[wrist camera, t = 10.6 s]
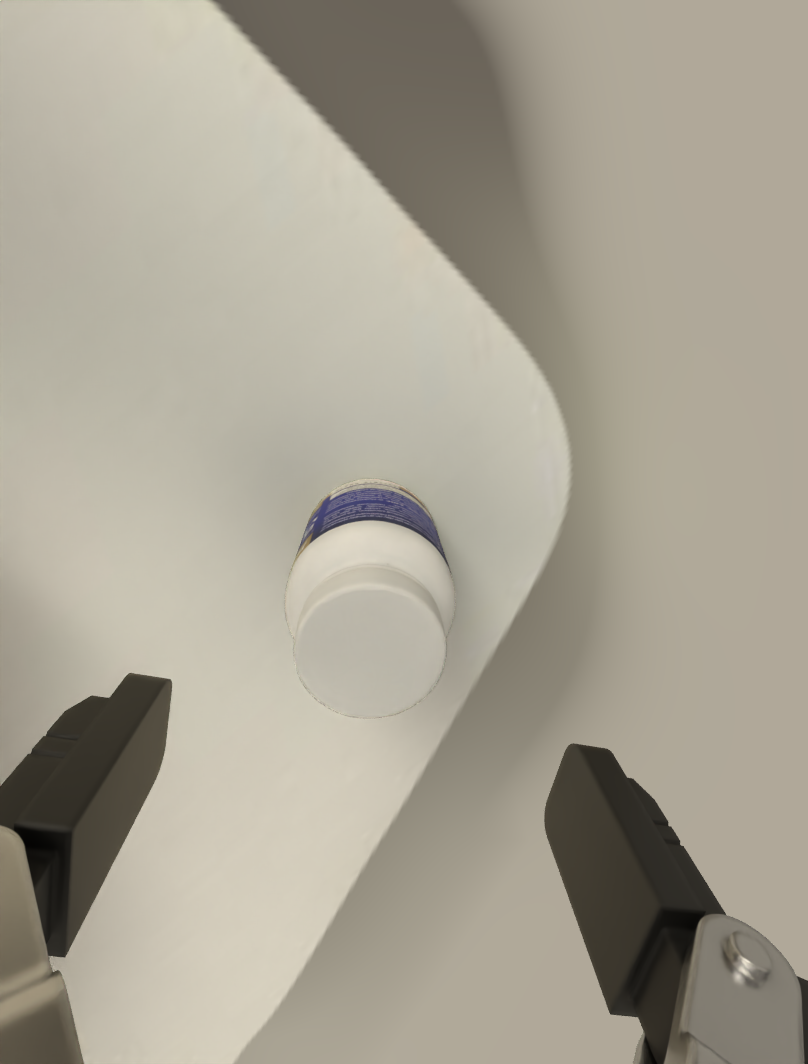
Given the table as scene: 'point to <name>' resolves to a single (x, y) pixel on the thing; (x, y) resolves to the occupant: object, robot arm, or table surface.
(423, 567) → the pill bottle
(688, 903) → the robot arm
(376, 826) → the table surface
